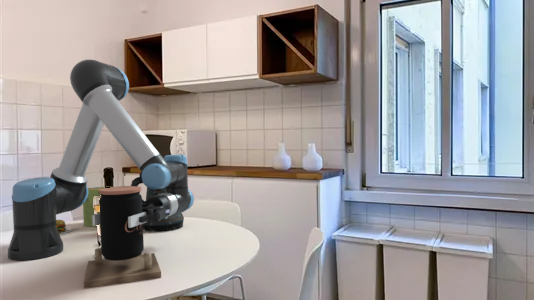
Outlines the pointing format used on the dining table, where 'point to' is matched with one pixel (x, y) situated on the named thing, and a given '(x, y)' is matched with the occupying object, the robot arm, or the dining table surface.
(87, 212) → the protein box
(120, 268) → the pegged base plate
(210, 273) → the dining table surface
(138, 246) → the coffee jar
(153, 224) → the beer stein
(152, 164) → the robot arm
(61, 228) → the hamburger
